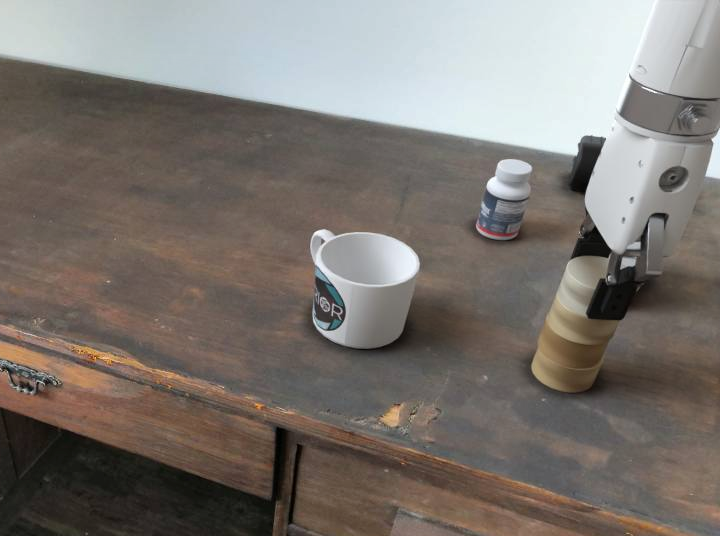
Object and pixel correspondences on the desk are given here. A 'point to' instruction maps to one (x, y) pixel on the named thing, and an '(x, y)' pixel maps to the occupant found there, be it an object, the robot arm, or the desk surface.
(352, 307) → the mug
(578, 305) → the ash chip
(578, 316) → the maple chip
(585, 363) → the chip pile
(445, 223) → the desk surface
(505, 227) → the pill bottle
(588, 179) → the end cap
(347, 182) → the desk surface
